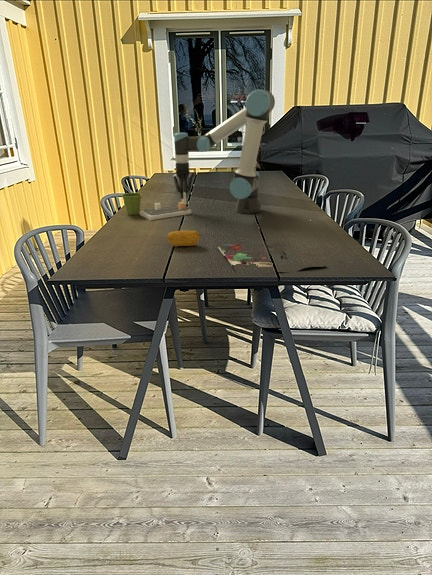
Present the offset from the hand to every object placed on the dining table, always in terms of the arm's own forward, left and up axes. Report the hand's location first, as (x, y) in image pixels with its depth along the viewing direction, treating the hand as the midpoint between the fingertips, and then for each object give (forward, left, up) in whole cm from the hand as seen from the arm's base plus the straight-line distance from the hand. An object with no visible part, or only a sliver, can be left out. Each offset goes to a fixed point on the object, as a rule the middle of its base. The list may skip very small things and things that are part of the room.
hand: (184, 203), depth 233 cm
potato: (-56, +29, -5) cm, 63 cm away
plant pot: (+15, +26, -5) cm, 31 cm away
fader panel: (+3, +11, -5) cm, 13 cm away
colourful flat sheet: (-89, +7, -6) cm, 89 cm away
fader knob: (0, +2, -3) cm, 4 cm away
